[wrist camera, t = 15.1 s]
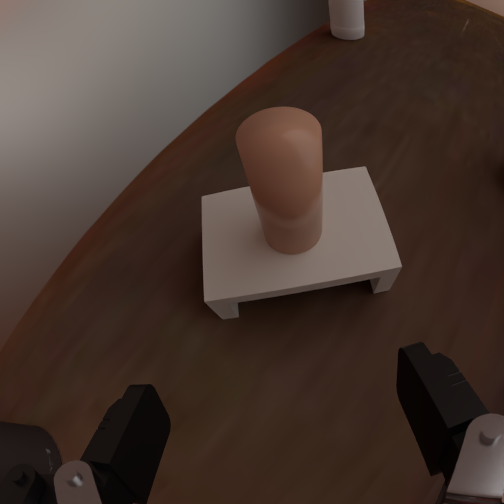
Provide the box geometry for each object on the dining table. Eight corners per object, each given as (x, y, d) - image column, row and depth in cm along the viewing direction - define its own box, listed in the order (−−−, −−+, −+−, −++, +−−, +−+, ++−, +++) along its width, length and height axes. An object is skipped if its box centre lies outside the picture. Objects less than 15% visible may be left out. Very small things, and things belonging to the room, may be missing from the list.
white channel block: (222, 319, 33) (204, 301, 28) (217, 225, 39) (201, 196, 34) (389, 290, 31) (401, 266, 26) (360, 199, 37) (365, 166, 32)
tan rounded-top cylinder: (266, 258, 29) (237, 170, 18) (260, 208, 32) (233, 114, 21) (327, 249, 28) (331, 155, 18) (316, 199, 31) (311, 101, 20)
